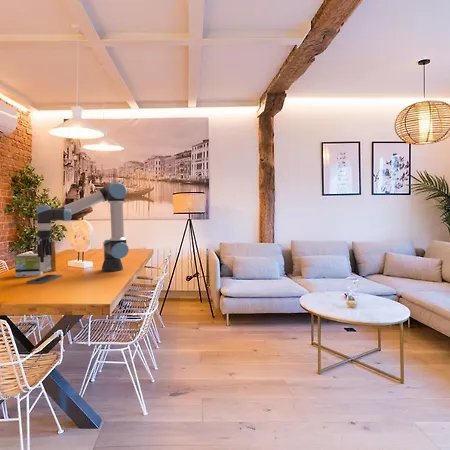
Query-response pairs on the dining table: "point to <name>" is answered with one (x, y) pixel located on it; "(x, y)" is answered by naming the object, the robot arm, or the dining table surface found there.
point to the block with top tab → (47, 263)
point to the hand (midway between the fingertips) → (45, 266)
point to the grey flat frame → (43, 279)
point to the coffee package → (53, 257)
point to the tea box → (27, 265)
